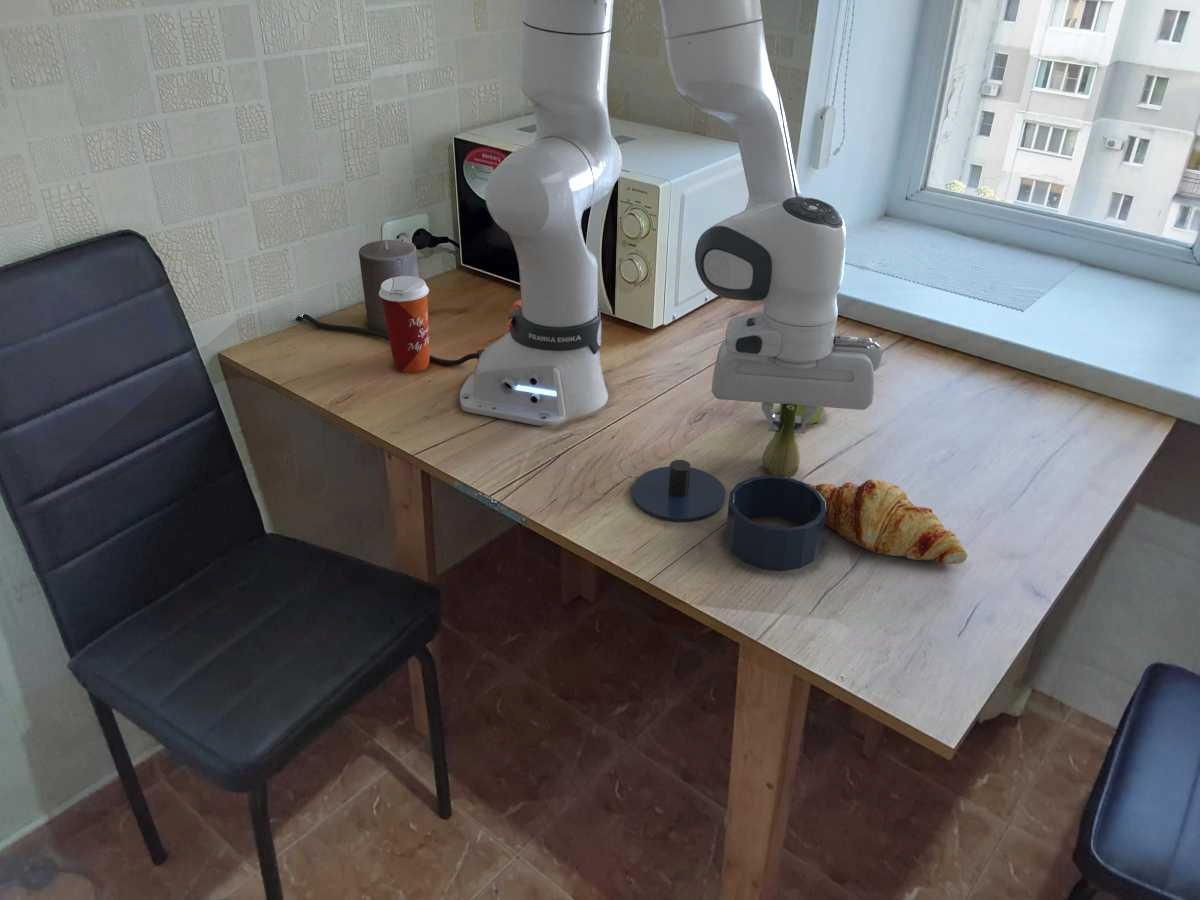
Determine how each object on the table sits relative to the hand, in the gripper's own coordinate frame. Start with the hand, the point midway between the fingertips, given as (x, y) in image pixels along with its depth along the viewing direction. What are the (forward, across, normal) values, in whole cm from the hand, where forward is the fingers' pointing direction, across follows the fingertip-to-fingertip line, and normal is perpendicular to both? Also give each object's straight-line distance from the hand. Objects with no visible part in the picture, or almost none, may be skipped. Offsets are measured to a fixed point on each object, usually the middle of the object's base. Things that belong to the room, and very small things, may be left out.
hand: (786, 430), depth 126 cm
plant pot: (+7, -3, -16) cm, 18 cm away
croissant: (+7, -12, +12) cm, 18 cm away
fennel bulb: (+7, 0, 0) cm, 7 cm away
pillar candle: (+7, +67, -38) cm, 77 cm away
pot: (+7, +1, +16) cm, 17 cm away
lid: (+6, +13, +8) cm, 17 cm away
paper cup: (+7, +59, -23) cm, 64 cm away
